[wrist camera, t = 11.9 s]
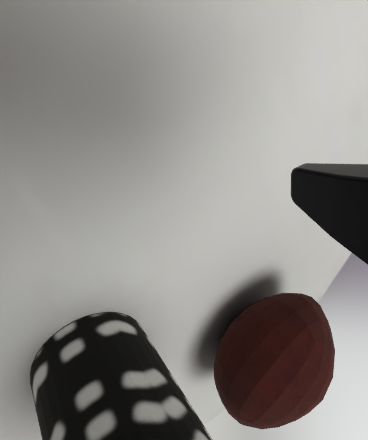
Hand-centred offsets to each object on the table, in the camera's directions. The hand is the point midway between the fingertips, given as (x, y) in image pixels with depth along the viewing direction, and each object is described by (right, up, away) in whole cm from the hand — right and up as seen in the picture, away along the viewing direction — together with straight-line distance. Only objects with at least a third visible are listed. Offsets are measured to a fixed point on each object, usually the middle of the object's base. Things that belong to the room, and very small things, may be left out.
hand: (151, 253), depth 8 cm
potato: (+6, -9, +25) cm, 27 cm away
